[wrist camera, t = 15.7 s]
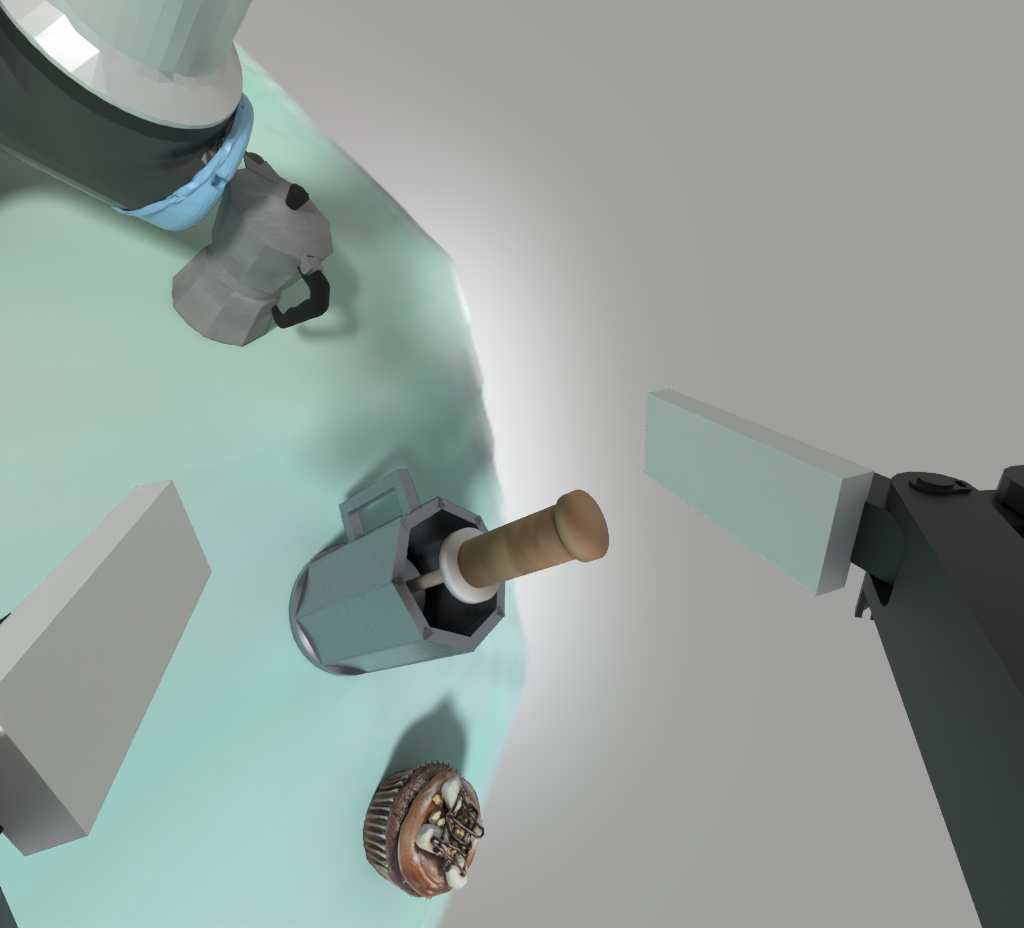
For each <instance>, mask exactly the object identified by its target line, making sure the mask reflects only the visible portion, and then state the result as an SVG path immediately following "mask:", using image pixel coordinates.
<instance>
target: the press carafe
mask: <svg viewBox="0 0 1024 928" xmlns="http://www.w3.org/2000/svg"><path fill="white" fill-rule="evenodd" d="M394 490H395V492H396V495H397V498H398V502H399V505H400V508H401V511H402V515H401V516H399V517H397V518H395V519H393V520H391V521H389V522H387V523H385V524H383V525H381V526H379V527H377V528H375V529H373V530H371V531H369V532H367V533H366V534H364V530H363V527H362V523H361V520H360V517H359V513H358V511H359V510H361V509H363V508H364V507H366V506H368V505H370V504H371V503H373V502H375V501H377V500H379V499H380V498H382V497H384V496H386V495H387V494H389V493H391V492H393V491H394ZM339 508H340V512H341V515H342V516H341V517H342V521H343V524H344V528H345V531H346V535H347V538H348V543H346V544H340V545H337V546H334V547H331V548H329V549H327V550H325V551H323V552H321V553H320V554H318V555H317V556H315V557H314V558H313V559H312V560H310V561H309V562H308V563H307V565H306V566H305V567H304V568H303V569H302V571H301V572H300V574H299V575H298V577H297V579H296V581H295V583H294V586H293V589H292V592H291V597H290V604H289V620H290V625H291V630H292V633H293V636H294V639H295V641H296V643H297V645H298V647H299V648H300V650H301V651H302V653H303V654H304V655H305V657H306V658H307V659H308V660H309V661H310V662H311V663H313V664H314V665H315V666H316V667H318V668H320V669H321V670H323V671H326V672H328V673H331V674H334V675H339V676H354V675H359V674H364V673H370V672H375V671H380V670H385V669H390V668H395V667H400V666H405V665H410V664H415V663H420V662H425V661H430V660H435V659H440V658H445V657H450V656H455V655H460V654H465V653H470V652H474V650H475V649H476V648H477V646H478V645H479V644H480V643H481V642H482V641H483V640H484V638H485V637H486V636H487V635H488V634H489V633H490V632H491V630H492V629H493V628H494V627H495V626H496V625H497V624H498V623H499V621H500V620H501V619H502V618H503V617H504V616H505V614H504V610H505V581H503V582H501V583H500V586H499V588H498V590H497V592H496V593H495V595H494V596H493V597H492V598H490V599H488V600H486V601H483V602H479V603H475V604H468V603H464V602H462V601H460V600H458V599H457V598H456V597H454V596H453V595H452V594H451V592H450V591H449V590H448V588H447V587H446V585H445V583H444V582H443V583H440V584H438V585H435V586H432V587H429V588H426V589H425V606H424V610H423V614H422V612H421V610H420V608H419V607H418V605H417V603H416V601H415V599H414V598H413V596H412V594H411V592H410V590H409V589H408V587H407V585H406V583H405V581H404V580H403V578H404V571H405V563H406V558H407V559H408V560H409V561H410V562H411V563H412V564H413V565H414V566H415V567H416V569H417V570H418V572H419V574H420V576H421V575H424V574H427V573H430V572H432V571H435V570H438V569H440V566H439V555H440V550H441V546H442V544H443V542H444V540H445V539H446V538H447V537H448V536H449V535H450V534H452V533H453V532H456V531H458V530H460V529H463V528H475V529H478V530H480V531H482V532H483V533H486V532H489V531H488V530H487V528H486V526H485V524H484V522H483V520H482V519H481V517H480V515H479V516H478V515H476V514H474V513H472V512H470V511H468V510H466V509H464V508H461V507H459V506H457V505H455V504H453V503H451V502H449V501H447V500H444V499H442V498H441V497H437V498H435V499H433V500H431V501H429V502H427V503H425V504H423V505H421V506H420V504H419V501H418V498H417V494H416V491H415V488H414V485H413V482H412V481H411V478H410V475H409V472H408V469H399V470H396V471H394V472H393V473H391V474H389V475H388V476H386V477H384V478H383V479H381V480H379V481H378V482H376V483H374V484H373V485H371V486H369V487H368V488H366V489H364V490H363V491H361V492H359V493H358V494H356V495H354V496H353V497H351V498H349V499H348V500H346V501H344V502H343V503H341V504H340V505H339Z"/></svg>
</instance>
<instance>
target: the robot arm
mask: <svg viewBox="0 0 1024 928" xmlns="http://www.w3.org/2000/svg"><path fill="white" fill-rule="evenodd" d="M252 1H253V0H0V150H1V151H3V152H5V153H7V154H9V155H11V156H13V157H15V158H17V159H19V160H21V161H23V162H25V163H27V164H29V165H31V166H33V167H35V168H37V169H39V170H41V171H43V172H45V173H46V174H48V175H50V176H52V177H54V178H56V179H58V180H60V181H62V182H64V183H66V184H68V185H70V186H72V187H74V188H76V189H78V190H80V191H82V192H84V193H86V194H88V195H90V196H92V197H94V198H96V199H98V200H100V201H102V202H104V203H106V204H108V205H109V206H110V207H111V208H113V209H114V210H116V211H118V212H120V213H123V214H125V215H129V216H135V217H137V218H140V219H142V220H144V221H146V222H148V223H151V224H153V225H155V226H157V227H160V228H162V229H165V230H170V231H181V230H186V229H188V228H191V227H193V226H194V225H196V224H197V223H199V222H200V221H201V220H202V219H203V218H204V217H205V216H206V215H207V214H208V213H209V212H210V211H211V209H212V208H213V207H214V206H215V205H216V203H217V202H218V200H219V199H220V197H221V196H222V194H223V191H224V188H225V184H227V183H228V182H229V181H230V180H231V179H232V177H233V176H234V174H235V172H236V171H237V169H238V167H239V164H240V162H241V160H242V158H243V155H244V153H245V151H246V148H247V145H248V142H249V139H250V135H251V131H252V127H253V120H254V112H253V107H252V104H251V102H250V101H249V99H248V98H247V97H246V95H245V94H243V93H242V69H241V65H240V61H239V57H238V54H237V51H236V48H235V46H234V43H233V40H234V38H235V36H236V34H237V32H238V30H239V28H240V26H241V24H242V22H243V20H244V17H245V15H246V13H247V11H248V9H249V7H250V5H251V3H252ZM646 414H647V415H646V442H645V471H644V472H645V473H646V474H647V475H648V476H650V477H651V478H652V479H654V480H655V481H657V482H658V483H659V484H661V485H662V486H663V487H665V488H666V489H668V490H669V491H670V492H672V493H673V494H674V495H676V496H677V497H679V498H680V499H681V500H683V501H684V502H686V503H687V504H688V505H690V506H691V507H693V508H694V509H695V510H697V511H698V512H699V513H701V514H702V515H704V516H705V517H706V518H708V519H709V520H710V521H712V522H713V523H715V524H716V525H717V526H719V527H720V528H722V529H723V530H725V531H726V532H727V533H728V534H730V535H731V536H733V537H734V538H735V539H737V540H738V541H740V542H741V543H742V544H744V545H745V546H746V547H748V548H749V549H751V550H752V551H753V552H755V553H756V554H758V555H759V556H760V557H762V558H763V559H765V560H766V561H767V562H769V563H770V564H771V565H773V566H774V567H776V568H777V569H778V570H780V571H781V572H783V573H784V574H785V575H787V576H788V577H790V578H791V579H792V580H794V581H795V582H796V583H798V584H799V585H801V586H802V587H803V588H805V589H806V590H808V591H809V592H810V593H812V594H813V595H815V596H819V595H822V594H824V593H827V592H831V591H834V590H837V589H840V588H843V587H845V583H846V579H847V575H848V571H849V568H850V564H851V562H852V563H853V564H855V565H857V566H858V567H860V568H862V569H864V570H865V571H866V573H865V576H864V580H863V584H862V588H861V591H860V594H859V598H858V602H857V605H856V609H855V617H860V618H861V617H862V613H863V610H865V609H867V608H868V607H870V610H871V613H872V614H871V618H870V619H871V620H874V621H875V624H876V627H877V630H878V633H879V635H880V638H881V641H882V644H883V647H884V650H885V653H886V655H887V658H888V661H889V664H890V667H891V670H892V672H893V675H894V678H895V681H896V684H897V687H898V690H899V692H900V695H901V698H902V701H903V703H904V707H905V709H906V712H907V715H908V718H909V721H910V723H911V726H912V729H913V732H914V735H915V738H916V740H917V744H918V746H919V749H920V752H921V755H922V758H923V760H924V763H925V766H926V769H927V772H928V775H929V777H930V780H931V783H932V786H933V789H934V792H935V794H936V798H937V800H938V803H939V806H940V809H941V812H942V815H943V817H944V820H945V823H946V826H947V829H948V832H949V835H950V837H951V840H952V843H953V846H954V849H955V851H956V854H957V857H958V860H959V863H960V866H961V869H962V871H963V874H964V877H965V880H966V883H967V885H968V888H969V891H970V894H971V897H972V900H973V903H974V905H975V908H976V911H977V914H978V917H979V920H980V923H981V925H982V928H1024V465H1019V466H1011V467H1009V468H1006V469H1004V471H1003V474H1002V476H1001V479H1000V482H999V484H998V487H997V489H996V490H984V491H978V490H977V489H976V488H974V487H973V486H971V485H970V484H968V483H967V482H965V481H962V480H958V479H956V478H952V477H948V476H945V475H941V474H936V473H927V472H905V473H900V474H897V475H895V476H894V477H892V479H889V478H887V477H884V476H882V475H880V474H877V473H875V472H874V470H871V469H869V468H866V467H864V466H861V465H859V464H856V463H854V462H851V461H849V460H846V459H844V458H841V457H839V456H836V455H834V454H831V453H829V452H826V451H824V450H821V449H819V448H816V447H814V446H811V445H809V444H806V443H804V442H801V441H799V440H796V439H794V438H791V437H788V436H786V435H783V434H781V433H778V432H776V431H773V430H771V429H768V428H766V427H763V426H761V425H758V424H756V423H753V422H751V421H748V420H746V419H743V418H741V417H738V416H736V415H733V414H731V413H728V412H726V411H723V410H721V409H718V408H716V407H713V406H710V405H708V404H705V403H703V402H700V401H698V400H695V399H693V398H690V397H688V396H685V395H683V394H680V393H677V392H675V391H673V390H670V389H665V390H661V391H654V392H649V393H647V411H646ZM211 572H212V571H211V569H210V567H209V564H208V562H207V560H206V557H205V555H204V553H203V550H202V548H201V546H200V544H199V541H198V539H197V537H196V534H195V532H194V530H193V527H192V525H191V523H190V520H189V518H188V516H187V514H186V511H185V509H184V507H183V504H182V502H181V500H180V497H179V495H178V493H177V490H176V488H175V486H174V484H173V481H172V480H170V481H164V482H159V483H153V484H148V485H142V486H137V487H135V488H134V489H133V490H132V492H131V493H130V494H129V495H128V496H127V497H126V498H125V499H124V500H123V501H122V502H121V503H120V504H119V505H118V506H117V507H116V508H115V509H114V510H113V511H112V512H111V513H110V514H109V515H108V516H107V517H106V518H105V519H104V520H103V521H102V522H101V523H100V524H99V525H98V526H97V527H96V528H95V529H94V530H93V531H92V532H91V533H90V534H89V535H88V536H87V537H86V538H85V539H84V540H83V541H82V542H81V543H80V544H79V545H78V546H77V547H76V548H75V549H74V550H73V551H72V552H71V553H70V554H69V555H68V556H67V557H66V558H65V559H64V560H63V561H62V563H61V564H60V565H59V566H58V567H57V568H56V569H55V570H54V571H53V572H52V573H51V574H50V575H49V576H48V577H47V578H46V579H45V580H44V581H43V582H42V583H41V584H40V585H39V586H38V587H37V588H36V589H35V590H34V591H33V592H32V593H31V594H30V595H29V596H28V597H27V598H26V599H25V600H24V601H23V602H22V603H21V604H20V605H19V606H18V607H17V608H16V609H15V610H14V611H13V612H12V613H9V614H8V615H7V616H5V617H4V618H2V619H1V620H0V834H1V833H2V832H3V833H4V835H5V836H6V837H7V838H8V839H9V840H10V841H11V842H12V843H13V844H14V845H15V847H16V848H17V849H18V850H19V851H20V852H21V853H22V854H23V855H24V856H28V855H31V854H34V853H37V852H40V851H43V850H46V849H49V848H52V847H55V846H58V845H61V844H64V843H67V842H70V841H73V840H76V839H79V838H82V837H85V836H88V834H89V832H90V830H91V828H92V826H93V824H94V822H95V819H96V817H97V815H98V813H99V811H100V809H101V807H102V805H103V802H104V800H105V798H106V796H107V794H108V792H109V790H110V787H111V785H112V783H113V781H114V779H115V777H116V775H117V772H118V770H119V768H120V766H121V764H122V762H123V760H124V758H125V755H126V753H127V751H128V749H129V747H130V745H131V743H132V740H133V738H134V736H135V734H136V732H137V730H138V728H139V726H140V723H141V721H142V719H143V717H144V715H145V713H146V711H147V708H148V706H149V704H150V702H151V700H152V698H153V696H154V693H155V691H156V689H157V687H158V685H159V683H160V681H161V679H162V676H163V674H164V672H165V670H166V668H167V666H168V664H169V661H170V659H171V657H172V655H173V653H174V651H175V649H176V647H177V644H178V642H179V640H180V638H181V636H182V634H183V632H184V629H185V627H186V625H187V623H188V621H189V619H190V617H191V614H192V612H193V610H194V608H195V606H196V604H197V602H198V600H199V597H200V595H201V593H202V591H203V589H204V587H205V585H206V582H207V580H208V578H209V576H210V574H211ZM0 928H18V926H17V924H16V922H15V919H14V917H13V915H12V912H11V910H10V908H9V906H8V903H7V901H6V899H5V896H4V894H3V892H2V889H1V887H0Z"/></svg>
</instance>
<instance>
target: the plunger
mask: <svg viewBox="0 0 1024 928" xmlns="http://www.w3.org/2000/svg"><path fill="white" fill-rule="evenodd" d="M608 545H609V534H608V528H607V524H606V521H605V518H604V516H603V513H602V511H601V509H600V508H599V506H598V504H597V503H596V501H595V500H594V499H593V498H592V497H591V496H590V495H589V494H588V493H586V492H585V491H582V490H575V491H572V492H570V493H567V494H565V495H563V496H561V497H560V498H559V499H558V501H557V503H556V505H553V506H551V507H548V508H546V509H544V510H541V511H539V512H536V513H533V514H531V515H528V516H526V517H523V518H521V519H518V520H516V521H513V522H511V523H508V524H506V525H504V526H501V527H499V528H496V529H494V530H491V531H489V532H486V533H483V532H482V531H480V530H478V529H475V528H463V529H460V530H458V531H456V532H453V533H452V534H450V535H449V536H448V537H447V538H446V539H445V540H444V542H443V544H442V546H441V550H440V555H439V566H440V569H438V570H435V571H432V572H430V573H427V574H424V575H421V576H420V574H419V572H418V570H417V569H416V567H415V566H414V565H413V564H412V563H411V562H410V561H409V560H408V559H407V558H406V563H405V571H404V578H403V580H404V581H405V583H406V585H407V587H408V589H409V590H410V592H411V594H412V596H413V598H414V599H415V601H416V603H417V605H418V607H419V608H420V610H421V612H422V614H423V610H424V606H425V589H426V588H429V587H432V586H435V585H438V584H440V583H443V582H444V583H445V585H446V587H447V588H448V590H449V591H450V592H451V594H452V595H453V596H454V597H456V598H457V599H458V600H460V601H462V602H464V603H468V604H475V603H479V602H483V601H486V600H488V599H490V598H492V597H493V596H494V595H495V593H496V592H497V590H498V588H499V586H500V583H501V582H503V581H507V580H510V579H513V578H516V577H520V576H523V575H526V574H529V573H533V572H536V571H539V570H542V569H546V568H549V567H552V566H555V565H559V564H562V563H565V562H568V561H571V560H575V559H577V560H579V561H581V562H589V561H592V560H596V559H599V558H602V557H603V556H604V555H605V554H606V552H607V550H608Z"/></svg>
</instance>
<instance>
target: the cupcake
mask: <svg viewBox="0 0 1024 928" xmlns="http://www.w3.org/2000/svg"><path fill="white" fill-rule="evenodd" d="M483 835H484V828H483V824H482V820H481V816H480V807H479V801H478V797H477V794H476V792H475V790H474V788H473V787H472V786H471V784H470V783H469V782H468V781H466V780H465V779H464V778H463V777H461V774H458V773H457V769H453V765H452V766H449V763H448V764H444V762H443V761H441V762H439V761H438V760H437V761H434V762H432V760H431V761H429V762H425V763H422V764H420V765H418V766H417V767H414V768H411V769H408V770H405V771H400V772H397V773H396V774H394V775H393V776H390V777H388V778H387V779H386V781H385V782H384V783H381V784H380V786H379V789H378V792H377V793H376V794H375V796H374V798H373V799H372V801H371V803H370V805H369V807H368V810H367V814H366V819H365V821H364V828H363V840H364V848H365V851H366V857H367V860H368V861H369V863H370V864H371V865H372V866H373V867H374V868H375V869H376V871H377V872H378V873H379V874H380V875H381V876H383V877H384V878H385V879H387V880H388V881H390V882H391V883H392V884H393V885H395V886H396V887H397V888H399V889H400V890H401V891H404V892H406V893H407V894H408V895H410V896H411V897H413V896H414V897H426V899H427V898H429V899H431V898H432V897H433V896H436V895H439V894H442V893H446V892H448V891H450V890H451V889H452V888H454V889H459V888H461V887H463V886H464V885H465V884H466V883H467V880H468V872H467V869H468V868H469V866H470V865H471V862H472V860H473V857H474V854H475V851H476V848H477V844H478V840H479V838H481V837H482V836H483Z"/></svg>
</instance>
